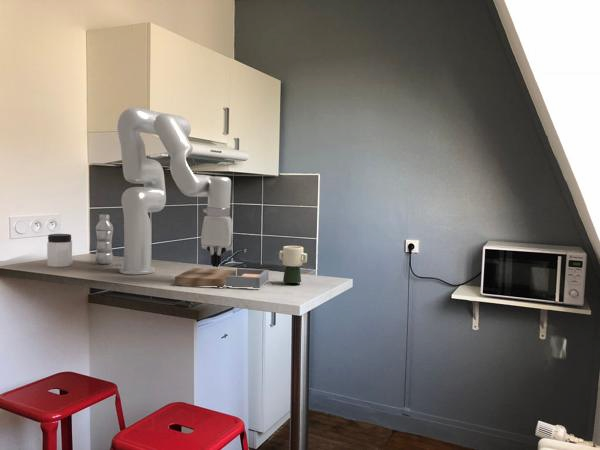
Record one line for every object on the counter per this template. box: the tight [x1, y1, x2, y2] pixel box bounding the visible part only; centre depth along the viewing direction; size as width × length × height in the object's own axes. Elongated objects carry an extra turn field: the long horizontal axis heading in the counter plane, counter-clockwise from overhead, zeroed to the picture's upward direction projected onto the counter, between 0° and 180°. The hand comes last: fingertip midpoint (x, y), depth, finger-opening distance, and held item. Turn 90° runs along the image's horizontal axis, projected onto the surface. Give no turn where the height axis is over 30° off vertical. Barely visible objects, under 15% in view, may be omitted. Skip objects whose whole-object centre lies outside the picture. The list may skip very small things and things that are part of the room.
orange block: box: [242, 274, 260, 277], centre depth 170 cm, size 6×6×4 cm
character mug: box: [278, 245, 308, 284], centre depth 174 cm, size 11×7×13 cm, turn 62°
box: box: [225, 267, 270, 288], centre depth 171 cm, size 11×16×4 cm
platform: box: [174, 267, 237, 287], centre depth 172 cm, size 16×18×3 cm
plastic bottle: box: [95, 213, 114, 265], centre depth 201 cm, size 6×7×20 cm
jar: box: [46, 233, 73, 268], centre depth 195 cm, size 9×8×12 cm
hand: (215, 266), depth 172 cm, fingers closed
